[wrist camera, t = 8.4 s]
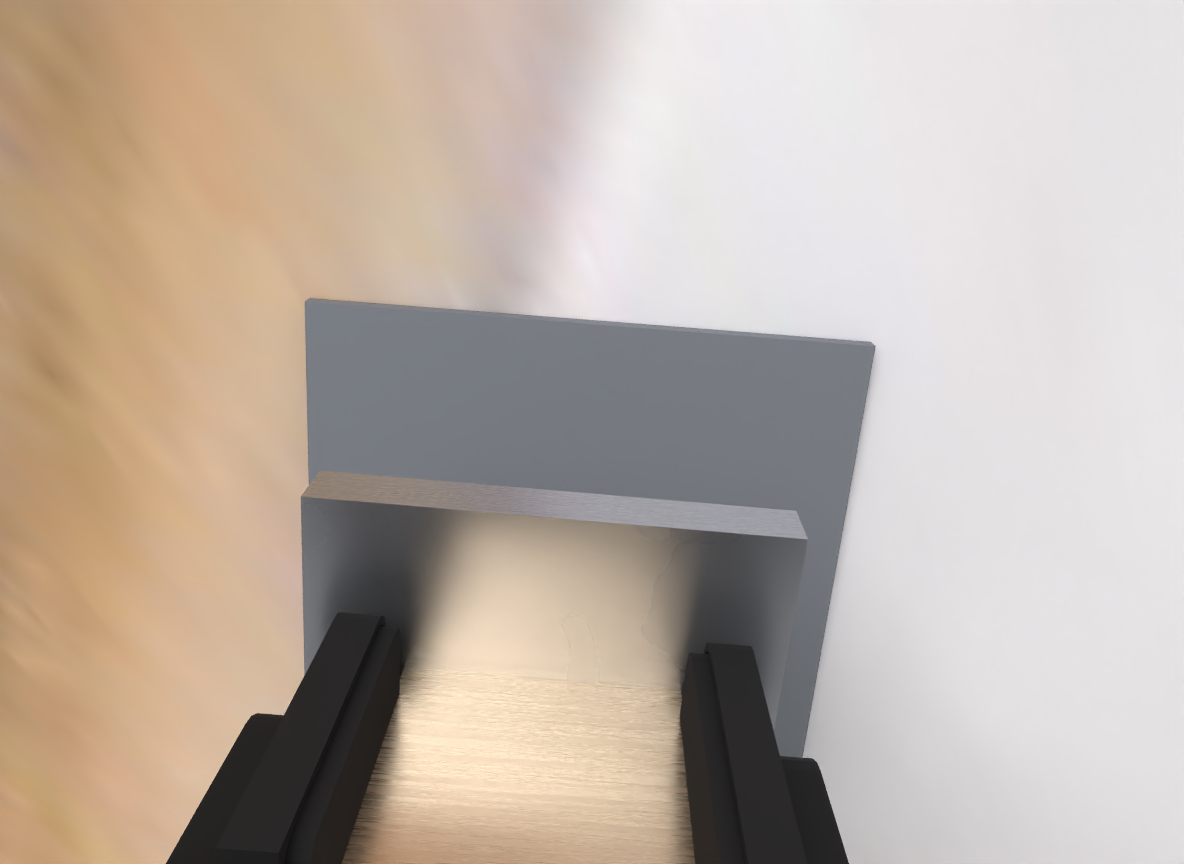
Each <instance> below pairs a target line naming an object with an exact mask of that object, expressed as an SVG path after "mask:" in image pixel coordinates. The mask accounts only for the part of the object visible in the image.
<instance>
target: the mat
mask: <svg viewBox="0 0 1184 864" xmlns="http://www.w3.org/2000/svg"><path fill="white" fill-rule="evenodd" d="M305 332H306V377H307V422H308V467H309V485H310V483H311V482H312V481H313V479H314V478H315V477H316V475H317V474H318V473H319V471H331V472H343V473H355V474H367V475H379V476H391V477H402V478H414V479H426V480H438V481H450V482H461V483H473V484H485V485H497V486H509V487H520V488H532V489H544V490H556V491H568V492H579V493H591V494H603V495H615V496H627V497H638V498H650V499H662V500H674V501H686V502H697V503H709V504H721V505H733V506H745V507H756V508H768V509H780V510H792V511H796V512H797V514H798V516H799V519H800V521H801V524H802V526H803V528H804V531H805V533H806V535H807V538H808V543H807V549H806V554H805V560H804V565H803V571H802V576H801V582H800V588H799V593H798V599H797V604H796V610H795V616H794V621H793V627H792V632H791V638H790V644H789V649H788V655H787V660H786V666H785V672H784V677H783V683H782V688H781V694H780V699H779V705H778V711H777V716H776V722H775V727H774V734H775V738H776V742H777V746H778V750H779V754H780V756H787V757H799V758H802V756H803V751H804V745H805V739H806V734H807V728H808V722H809V717H810V711H811V706H812V700H813V694H814V689H815V683H816V677H817V672H818V666H819V661H820V655H821V649H822V644H823V638H824V632H825V627H826V621H827V616H828V610H829V604H830V599H831V593H832V587H833V582H834V576H835V571H836V565H837V559H838V554H839V548H840V542H841V537H842V531H843V526H844V520H845V514H846V509H847V503H848V497H849V492H850V486H851V481H852V475H853V469H854V464H855V458H856V452H857V447H858V441H859V436H860V430H861V424H862V419H863V413H864V407H865V402H866V396H867V391H868V385H869V379H870V374H871V368H872V362H873V357H874V351H875V345H873V344H872V343H871V342H863V341H850V340H838V339H825V338H812V337H799V336H786V335H774V334H761V333H748V332H735V331H722V330H710V329H697V328H684V327H671V326H658V325H646V324H633V323H620V322H607V321H594V320H582V319H569V318H556V317H543V316H530V315H518V314H505V313H492V312H479V311H467V310H454V309H441V308H428V307H415V306H403V305H390V304H377V303H364V302H351V301H339V300H326V299H313V298H309V299H308V300H307V301H305Z"/></svg>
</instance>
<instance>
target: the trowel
mask: <svg viewBox="0 0 1184 864" xmlns="http://www.w3.org/2000/svg"><path fill="white" fill-rule="evenodd" d="M301 523H302V571H303V619H304V667H305V674H306V672H307V670H308V668H309V666H310V664H311V662H312V660H313V658H314V656H315V655H316V653H317V651H318V649H319V647H320V645H321V643H322V641H323V639H324V637H325V635H326V633H327V631H328V629H329V627H330V625H331V624H332V622H333V620H334V618H335V616H336V615H337V613H338V612H349V613H361V614H373V615H383V616H384V617H385V622H386V627H387V628H399V630H400V635H401V647H400V692H399V696H398V699H397V702H396V705H395V708H394V711H393V714H392V717H391V720H390V722H389V725H388V728H387V731H386V734H385V737H384V740H383V743H382V746H381V749H380V752H379V755H378V758H377V761H376V764H375V767H374V770H373V773H372V776H371V778H370V781H369V784H368V787H367V790H366V793H365V796H364V799H363V802H362V805H361V808H360V811H359V814H358V817H357V820H356V823H355V826H354V829H353V831H352V834H351V837H350V840H349V843H348V846H347V849H346V852H345V855H344V858H343V861H342V864H695V857H694V848H693V838H692V829H691V819H690V809H689V800H688V790H687V781H686V771H685V762H684V752H683V743H682V733H681V724H680V710H681V703H682V695H683V688H684V680H685V673H686V666H687V659H688V655H689V653H702V654H704V649H705V646H706V644H707V642H711V643H723V644H735V645H747V646H751V647H752V648H753V651H754V655H755V659H756V663H757V667H758V671H759V675H760V679H761V683H762V687H763V691H764V695H765V699H766V703H767V706H768V710H769V714H770V718H771V722H772V726H773V730H774V727H775V722H776V716H777V711H778V705H779V699H780V694H781V688H782V683H783V677H784V672H785V666H786V660H787V655H788V649H789V644H790V638H791V632H792V627H793V621H794V616H795V610H796V604H797V599H798V593H799V588H800V582H801V576H802V571H803V565H804V560H805V554H806V549H807V543H808V538H807V535H806V533H805V531H804V528H803V526H802V524H801V521H800V519H799V516H798V514H797V512H796V511H792V510H780V509H768V508H756V507H745V506H733V505H721V504H709V503H697V502H686V501H674V500H662V499H650V498H638V497H627V496H615V495H603V494H591V493H579V492H568V491H556V490H544V489H532V488H520V487H509V486H497V485H485V484H473V483H461V482H450V481H438V480H426V479H414V478H402V477H391V476H379V475H367V474H355V473H343V472H331V471H319V473H318V474H317V475H316V477H315V478H314V479H313V481H312V482H311V483H310V485H309V486H308V488H307V489H306V490H305V492H304V493H303V494H302V496H301Z"/></svg>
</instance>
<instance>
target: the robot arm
mask: <svg viewBox="0 0 1184 864" xmlns="http://www.w3.org/2000/svg"><path fill="white" fill-rule="evenodd" d="M400 647H401V635H400V630H399V628H387V627H386V622H385V617H384V616H383V615H373V614H361V613H349V612H338V613H337V615H336V616H335V618H334V620H333V622H332V624H331V625H330V627H329V629H328V631H327V633H326V635H325V637H324V639H323V641H322V643H321V645H320V647H319V649H318V651H317V653H316V655H315V656H314V658H313V660H312V662H311V664H310V666H309V668H308V670H307V672H306V674H305V676H304V678H303V680H302V682H301V684H300V685H299V687H298V689H297V691H296V693H295V695H294V697H293V699H292V701H291V703H290V705H289V707H288V709H287V711H286V713H285V714H284V715H272V714H259V713H257V714H254V715H252V716H251V717H250V719H249V720H248V721H247V723H246V724H245V726H244V728H243V729H242V731H241V733H240V735H239V736H238V738H237V740H236V742H235V743H234V745H233V747H232V749H231V750H230V752H229V754H228V756H227V757H226V759H225V761H224V763H223V764H222V766H221V768H220V770H219V771H218V773H217V775H216V777H215V778H214V780H213V782H212V784H211V785H210V787H209V789H208V791H207V792H206V794H205V796H204V798H203V799H202V801H201V803H200V805H199V807H198V808H197V810H196V812H195V814H194V815H193V817H192V819H191V821H190V822H189V824H188V826H187V828H186V829H185V831H184V833H183V835H182V836H181V838H180V840H179V842H178V843H177V845H176V847H175V849H174V850H173V852H172V854H171V856H170V857H169V859H168V861H167V863H166V864H342V861H343V858H344V855H345V852H346V849H347V846H348V843H349V840H350V837H351V834H352V831H353V829H354V826H355V823H356V820H357V817H358V814H359V811H360V808H361V805H362V802H363V799H364V796H365V793H366V790H367V787H368V784H369V781H370V778H371V776H372V773H373V770H374V767H375V764H376V761H377V758H378V755H379V752H380V749H381V746H382V743H383V740H384V737H385V734H386V731H387V728H388V725H389V722H390V720H391V717H392V714H393V711H394V708H395V705H396V702H397V699H398V696H399V692H400ZM680 724H681V733H682V743H683V752H684V762H685V771H686V781H687V790H688V800H689V809H690V819H691V829H692V838H693V848H694V857H695V864H849V863H848V859H847V856H846V853H845V849H844V846H843V843H842V840H841V836H840V833H839V830H838V827H837V823H836V820H835V817H834V814H833V810H832V807H831V804H830V800H829V797H828V794H827V791H826V787H825V784H824V781H823V778H822V774H821V771H820V769H819V766H818V764H817V762H816V761H815V760H814V759H811V758H799V757H787V756H780V754H779V750H778V746H777V742H776V738H775V734H774V730H773V726H772V722H771V718H770V714H769V710H768V706H767V703H766V699H765V695H764V691H763V687H762V683H761V679H760V675H759V671H758V667H757V663H756V659H755V655H754V651H753V648H752V647H751V646H747V645H735V644H723V643H711V642H707V644H706V646H705V649H704V654H702V653H689V655H688V659H687V666H686V673H685V680H684V688H683V695H682V703H681V710H680Z"/></svg>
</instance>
